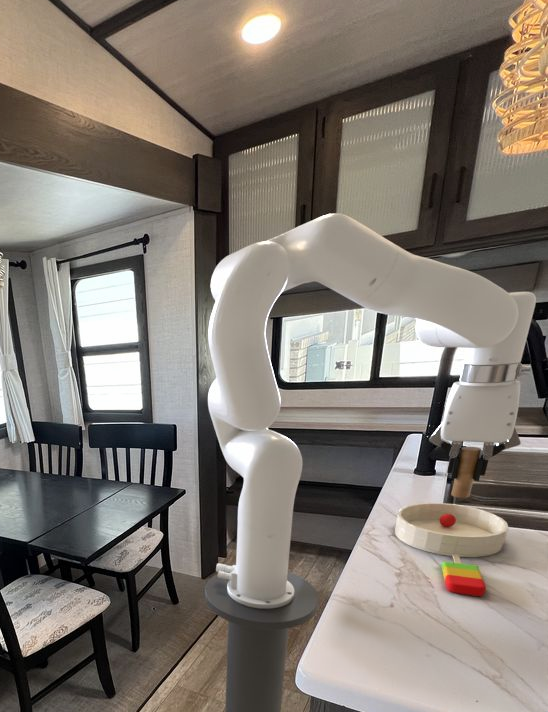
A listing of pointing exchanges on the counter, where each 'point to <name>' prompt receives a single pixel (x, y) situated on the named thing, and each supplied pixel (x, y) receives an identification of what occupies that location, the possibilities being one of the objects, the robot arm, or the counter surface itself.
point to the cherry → (447, 520)
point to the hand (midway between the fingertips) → (464, 477)
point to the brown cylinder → (466, 472)
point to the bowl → (451, 530)
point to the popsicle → (463, 578)
